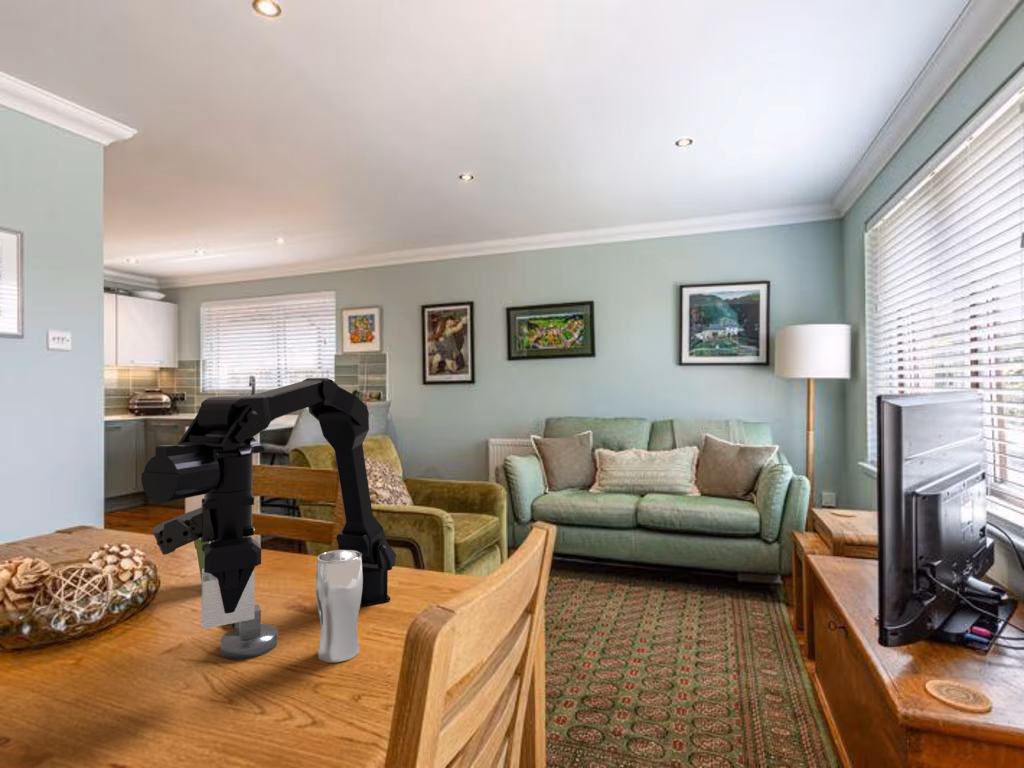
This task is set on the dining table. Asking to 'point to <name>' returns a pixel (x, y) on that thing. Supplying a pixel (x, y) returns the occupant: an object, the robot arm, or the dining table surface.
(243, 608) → the cube with round boss
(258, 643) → the ratchet
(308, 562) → the dining table surface
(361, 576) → the beer glass
